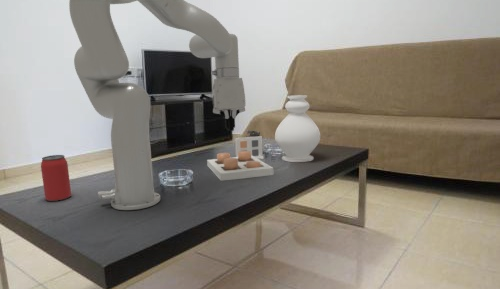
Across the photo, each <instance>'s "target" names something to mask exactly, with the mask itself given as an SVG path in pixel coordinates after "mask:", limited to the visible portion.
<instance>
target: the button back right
mask: <svg viewBox="0 0 500 289" xmlns="http://www.w3.org/2000/svg"><path fill="white" fill-rule="evenodd" d="M238 161H251V151H239V152H238Z"/></svg>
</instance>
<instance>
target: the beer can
mask: <svg viewBox="0 0 500 289" xmlns="http://www.w3.org/2000/svg"><path fill="white" fill-rule="evenodd" d="M65 157H66V156H65V155H64V154H55V155H54V154H53V155H47V156H43V157H41V159H42V160H41V163H40V168H41V169H40V170H41V177H42V184H43V191H44V200H46V201H48V202H59V201H58V200H60V201H64V200H67V199H68V198H70V197H71V196H72V189H71V188H72V187H71V182H70V180H71V179H70V174H69V166H68V161H67V159H66V158H65Z"/></svg>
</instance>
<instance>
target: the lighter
mask: <svg viewBox="0 0 500 289" xmlns="http://www.w3.org/2000/svg"><path fill="white" fill-rule="evenodd" d="M246 133H247V134H249V135H245V137H258V136H262V135H261V131H258V130H251V129H250V130H247V131H246ZM263 138H264V136H262V139H263ZM263 154H264V151H263V148H262V155H263Z"/></svg>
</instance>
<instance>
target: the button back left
mask: <svg viewBox="0 0 500 289" xmlns="http://www.w3.org/2000/svg"><path fill="white" fill-rule="evenodd" d="M227 158H231V152H219V153H216V159H217V163H220V164H224V159H227Z"/></svg>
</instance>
